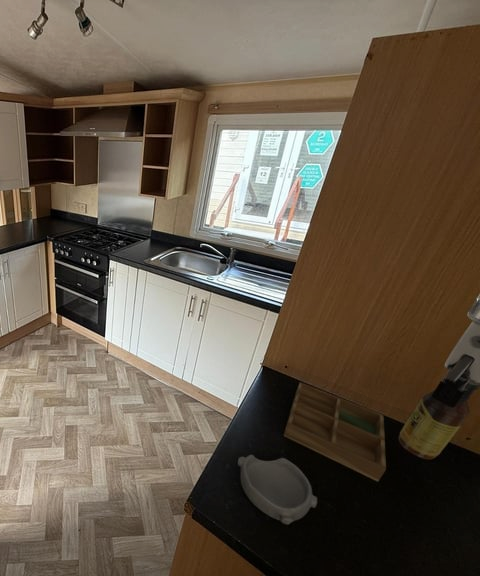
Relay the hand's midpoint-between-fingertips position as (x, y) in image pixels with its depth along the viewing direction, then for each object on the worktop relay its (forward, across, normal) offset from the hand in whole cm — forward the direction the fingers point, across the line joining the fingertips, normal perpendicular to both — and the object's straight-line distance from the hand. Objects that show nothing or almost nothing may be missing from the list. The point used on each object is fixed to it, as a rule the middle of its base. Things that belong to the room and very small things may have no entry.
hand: (449, 396), depth 59 cm
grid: (+29, +4, +15) cm, 33 cm away
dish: (+29, -25, +10) cm, 40 cm away
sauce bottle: (+15, 0, 0) cm, 15 cm away
